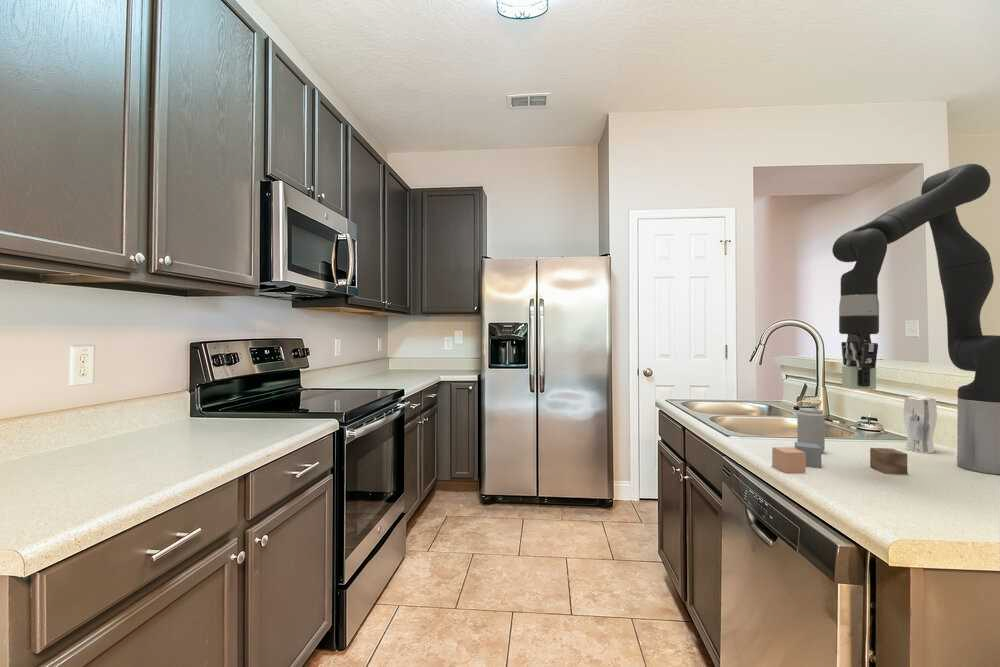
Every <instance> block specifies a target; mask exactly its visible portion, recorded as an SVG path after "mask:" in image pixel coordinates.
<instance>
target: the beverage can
mask: <svg viewBox="0 0 1000 667" xmlns="http://www.w3.org/2000/svg"><path fill="white" fill-rule="evenodd" d="M796 416H797V418H796V419H797V420H796V421H797V425H796V426H797V428H796V429H797V431H796V432H797V441H796V442H801V443H812V444H818V445H819V446H820V448H821V454H822V453H823V452H825V450H826V449H825V446H826V444H825V443H826V442H825V440H826V439H825V432H826V431H825V424H826V423H825V420H826V419H825V414H824V410H823V409H820V408H813V407H812V408H811V407H800V408H798V411H797V415H796Z"/></svg>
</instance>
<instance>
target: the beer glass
mask: <svg viewBox="0 0 1000 667" xmlns="http://www.w3.org/2000/svg"><path fill="white" fill-rule="evenodd" d="M937 408H938V407H937V400H936V399H935V398H930V397H924V396H922V397H921V396H905V397H904V404H903V417H904V418H903V419H904V423H905V424H904V425H905V429H906V434H907V435H906V436H907V437H906V438H907V439H906V444H905V449H906V450H907V451H910V450H911V452H914V451H916V452H915V453H920V452H923V453H922V454H934V453H935V451H936V450H935V447H934V441H933V438H934V433H935V429H936V425H937V420H938V419H937V418H938V409H937Z"/></svg>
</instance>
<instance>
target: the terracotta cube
mask: <svg viewBox="0 0 1000 667" xmlns="http://www.w3.org/2000/svg"><path fill="white" fill-rule="evenodd" d="M771 452H772V453H771V454H772V455H771V457H772V458H771V459H772V461H771V463H772V464H771V467H772V468H774V469H776V470H778V471H781V472H782V473H784V474H805V473H804V472H806V469H807V468H806V467H807V466H806V452H803V451H800V450H798V449H795V447H793V446H792V447H791V446H787V447H786V446H778V447H777V446H774V447H773V446H772V450H771Z"/></svg>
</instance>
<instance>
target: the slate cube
mask: <svg viewBox="0 0 1000 667" xmlns="http://www.w3.org/2000/svg"><path fill="white" fill-rule="evenodd" d="M794 448H795V449H798V450H800V451H803V452H806V467H807V466H809V467H808V468H816V467H817V468H818V469H822V453H821V448H820V446H819V445H818V444H812V443H801V442H797V441H794Z"/></svg>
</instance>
